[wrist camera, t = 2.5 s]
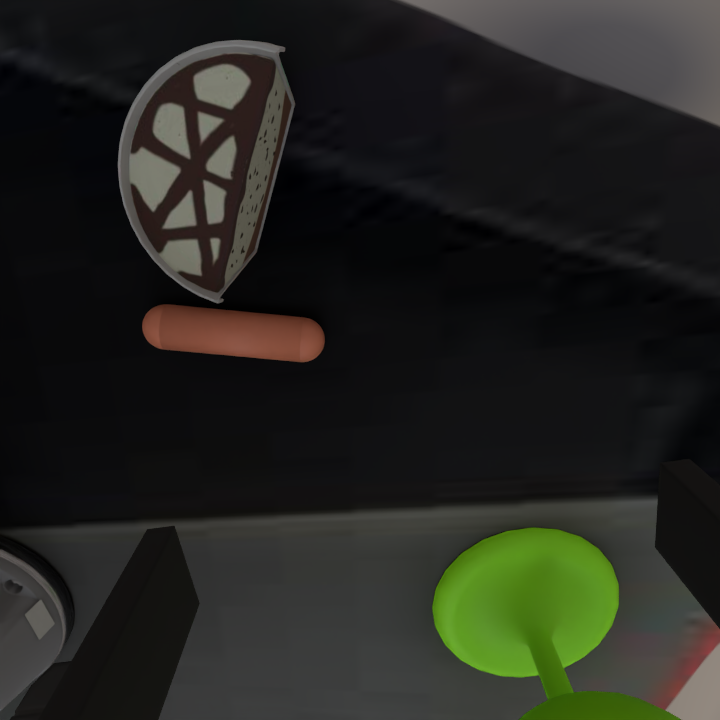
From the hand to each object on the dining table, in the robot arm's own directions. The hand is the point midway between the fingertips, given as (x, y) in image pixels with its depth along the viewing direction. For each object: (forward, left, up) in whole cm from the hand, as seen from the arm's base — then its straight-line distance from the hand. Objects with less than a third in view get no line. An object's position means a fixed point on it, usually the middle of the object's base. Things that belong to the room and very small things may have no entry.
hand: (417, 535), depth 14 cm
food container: (-11, +9, -23) cm, 27 cm away
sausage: (-10, -2, -23) cm, 25 cm away
